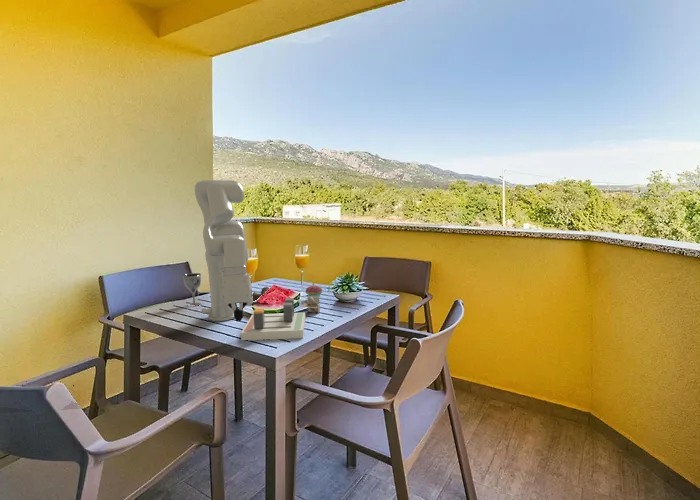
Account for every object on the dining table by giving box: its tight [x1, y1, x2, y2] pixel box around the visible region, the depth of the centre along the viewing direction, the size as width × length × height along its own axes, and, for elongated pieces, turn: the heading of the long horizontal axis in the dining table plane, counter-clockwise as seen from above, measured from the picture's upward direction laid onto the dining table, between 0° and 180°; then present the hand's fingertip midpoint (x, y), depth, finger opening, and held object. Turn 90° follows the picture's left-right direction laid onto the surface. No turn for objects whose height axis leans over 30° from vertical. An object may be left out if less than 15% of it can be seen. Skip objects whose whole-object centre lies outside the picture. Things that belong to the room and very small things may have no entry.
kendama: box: [252, 286, 270, 301], centre depth 189 cm, size 6×10×20 cm
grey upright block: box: [253, 307, 265, 329], centre depth 137 cm, size 3×4×7 cm
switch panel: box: [240, 297, 306, 342], centre depth 145 cm, size 22×22×10 cm
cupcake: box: [305, 278, 323, 298], centre depth 188 cm, size 9×8×12 cm
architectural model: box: [302, 295, 321, 314], centre depth 166 cm, size 3×7×7 cm, turn 73°
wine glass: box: [182, 272, 202, 306], centre depth 183 cm, size 8×8×15 cm
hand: (238, 320), depth 136 cm, fingers closed
